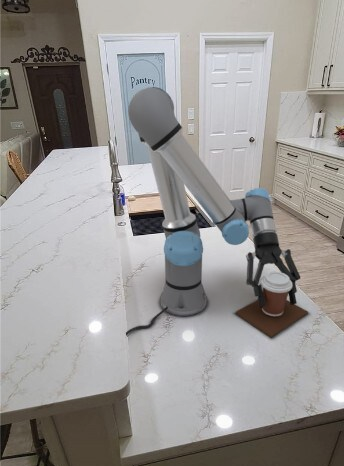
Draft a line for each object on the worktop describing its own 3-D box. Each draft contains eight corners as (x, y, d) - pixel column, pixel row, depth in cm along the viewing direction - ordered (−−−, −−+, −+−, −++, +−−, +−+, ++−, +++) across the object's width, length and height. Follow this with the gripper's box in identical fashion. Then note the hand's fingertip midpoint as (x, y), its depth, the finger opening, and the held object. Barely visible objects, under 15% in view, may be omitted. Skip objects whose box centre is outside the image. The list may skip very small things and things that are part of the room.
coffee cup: (294, 315, 100) (300, 282, 94) (268, 322, 98) (273, 288, 92) (276, 298, 108) (281, 267, 102) (252, 304, 105) (255, 272, 100)
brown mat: (271, 338, 94) (271, 336, 93) (235, 313, 104) (235, 311, 103) (307, 313, 103) (308, 311, 103) (271, 293, 113) (272, 291, 113)
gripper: (292, 236, 109) (307, 304, 103) (228, 241, 107) (239, 310, 101) (302, 228, 102) (318, 300, 95) (234, 233, 100) (246, 307, 93)
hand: (278, 305), depth 98 cm, fingers closed on coffee cup, 9 cm apart
